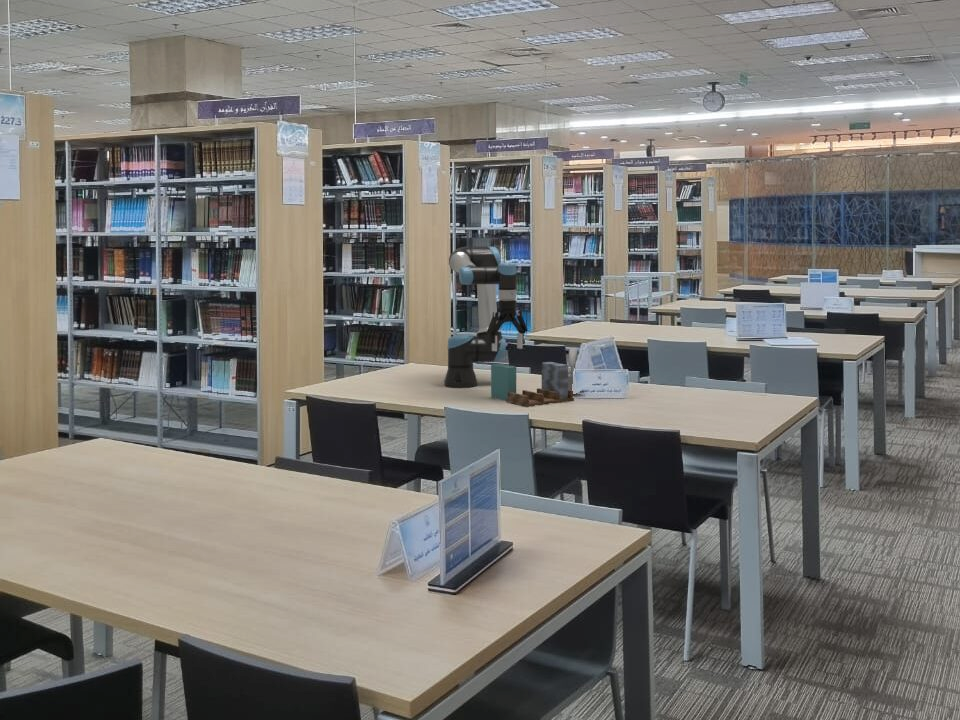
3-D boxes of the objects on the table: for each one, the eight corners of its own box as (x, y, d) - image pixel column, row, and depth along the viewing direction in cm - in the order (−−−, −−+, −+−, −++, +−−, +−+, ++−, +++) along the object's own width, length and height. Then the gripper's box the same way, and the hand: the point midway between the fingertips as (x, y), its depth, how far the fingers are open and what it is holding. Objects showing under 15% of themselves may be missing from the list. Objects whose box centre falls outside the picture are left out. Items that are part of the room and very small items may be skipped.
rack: (506, 402, 409) (506, 365, 407) (552, 395, 423) (553, 361, 421) (526, 407, 397) (526, 369, 395) (573, 400, 412) (574, 364, 409)
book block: (491, 396, 422) (491, 364, 420) (499, 395, 424) (499, 363, 422) (507, 400, 412) (507, 367, 410) (516, 399, 414) (516, 367, 412)
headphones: (582, 397, 420) (583, 350, 417) (561, 396, 421) (561, 350, 418) (584, 390, 438) (585, 345, 435) (564, 389, 439) (564, 345, 437)
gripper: (489, 301, 402) (489, 353, 405) (535, 298, 417) (535, 348, 420) (478, 300, 408) (478, 351, 411) (524, 297, 423) (524, 346, 426)
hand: (507, 349), depth 415 cm, fingers open, 13 cm apart
